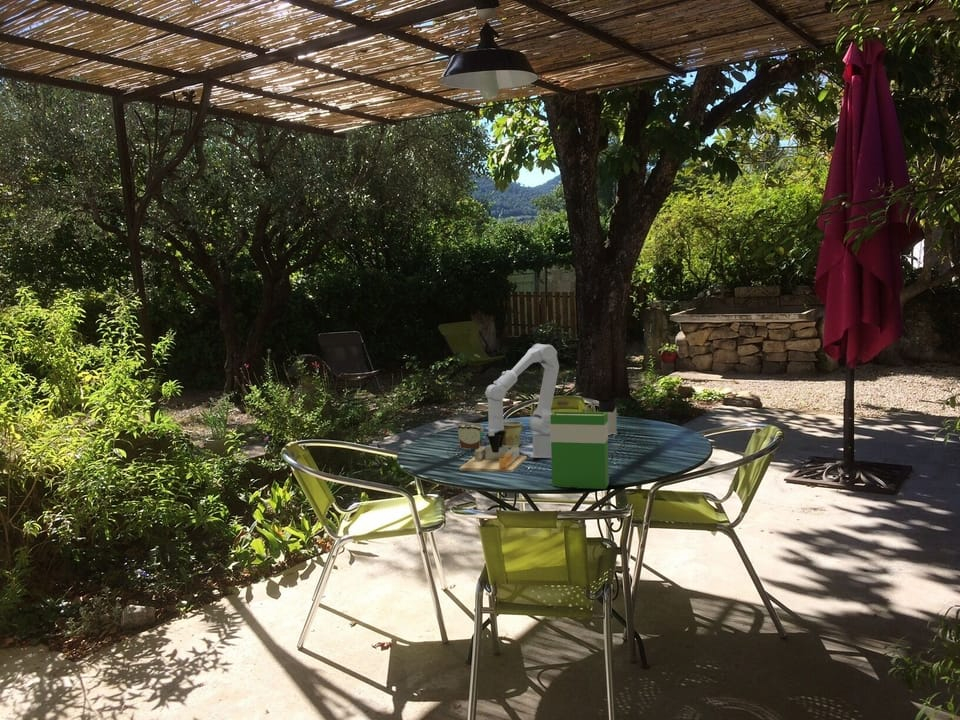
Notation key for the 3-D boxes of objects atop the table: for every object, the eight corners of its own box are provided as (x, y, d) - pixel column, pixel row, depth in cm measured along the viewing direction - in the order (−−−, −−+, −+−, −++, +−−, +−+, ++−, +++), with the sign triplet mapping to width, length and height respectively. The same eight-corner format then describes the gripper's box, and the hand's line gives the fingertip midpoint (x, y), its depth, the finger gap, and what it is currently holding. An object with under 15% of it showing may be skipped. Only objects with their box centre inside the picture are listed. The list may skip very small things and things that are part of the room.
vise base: (526, 458, 294) (526, 446, 294) (512, 472, 272) (511, 459, 272) (477, 457, 300) (477, 445, 299) (459, 470, 278) (459, 457, 277)
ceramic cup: (521, 449, 312) (520, 425, 311) (497, 448, 314) (496, 425, 313) (525, 442, 325) (524, 419, 324) (502, 442, 327) (501, 419, 326)
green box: (552, 486, 250) (550, 415, 248) (556, 481, 257) (555, 411, 255) (605, 489, 245) (604, 415, 243) (608, 483, 252) (607, 412, 250)
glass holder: (619, 435, 334) (618, 402, 332) (587, 436, 334) (586, 403, 333) (616, 432, 342) (615, 399, 341) (584, 433, 343) (584, 400, 341)
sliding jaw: (519, 456, 293) (519, 447, 292) (506, 467, 274) (505, 458, 273) (513, 455, 293) (512, 447, 293) (499, 467, 274) (499, 458, 274)
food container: (489, 447, 317) (489, 424, 317) (482, 450, 312) (481, 426, 311) (464, 445, 324) (464, 422, 323) (457, 448, 318) (456, 424, 318)
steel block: (507, 458, 291) (507, 445, 290) (505, 460, 287) (504, 447, 287) (488, 457, 293) (487, 444, 293) (485, 459, 289) (484, 447, 289)
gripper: (490, 412, 297) (492, 447, 298) (480, 419, 283) (481, 454, 284) (508, 413, 295) (509, 447, 296) (498, 419, 281) (499, 455, 282)
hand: (496, 451), depth 290 cm, fingers closed on steel block, 4 cm apart
